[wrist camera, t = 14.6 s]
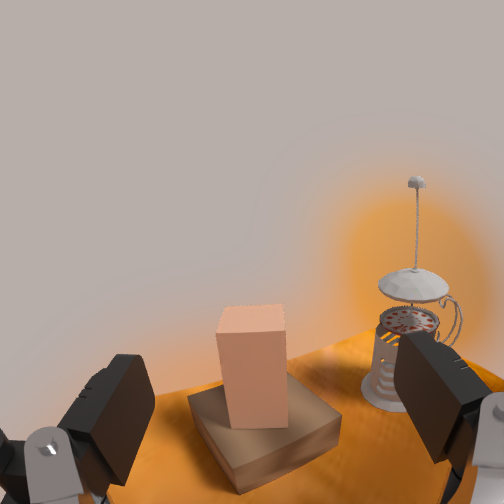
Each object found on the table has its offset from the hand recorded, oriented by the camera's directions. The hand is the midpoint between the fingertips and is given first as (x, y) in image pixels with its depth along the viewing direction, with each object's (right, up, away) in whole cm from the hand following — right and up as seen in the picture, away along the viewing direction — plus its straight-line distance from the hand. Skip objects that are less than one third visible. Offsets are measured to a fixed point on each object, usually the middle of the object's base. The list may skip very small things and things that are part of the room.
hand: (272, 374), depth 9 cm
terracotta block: (0, -11, +17) cm, 21 cm away
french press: (+18, -13, +24) cm, 33 cm away
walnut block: (+1, -16, +19) cm, 25 cm away
